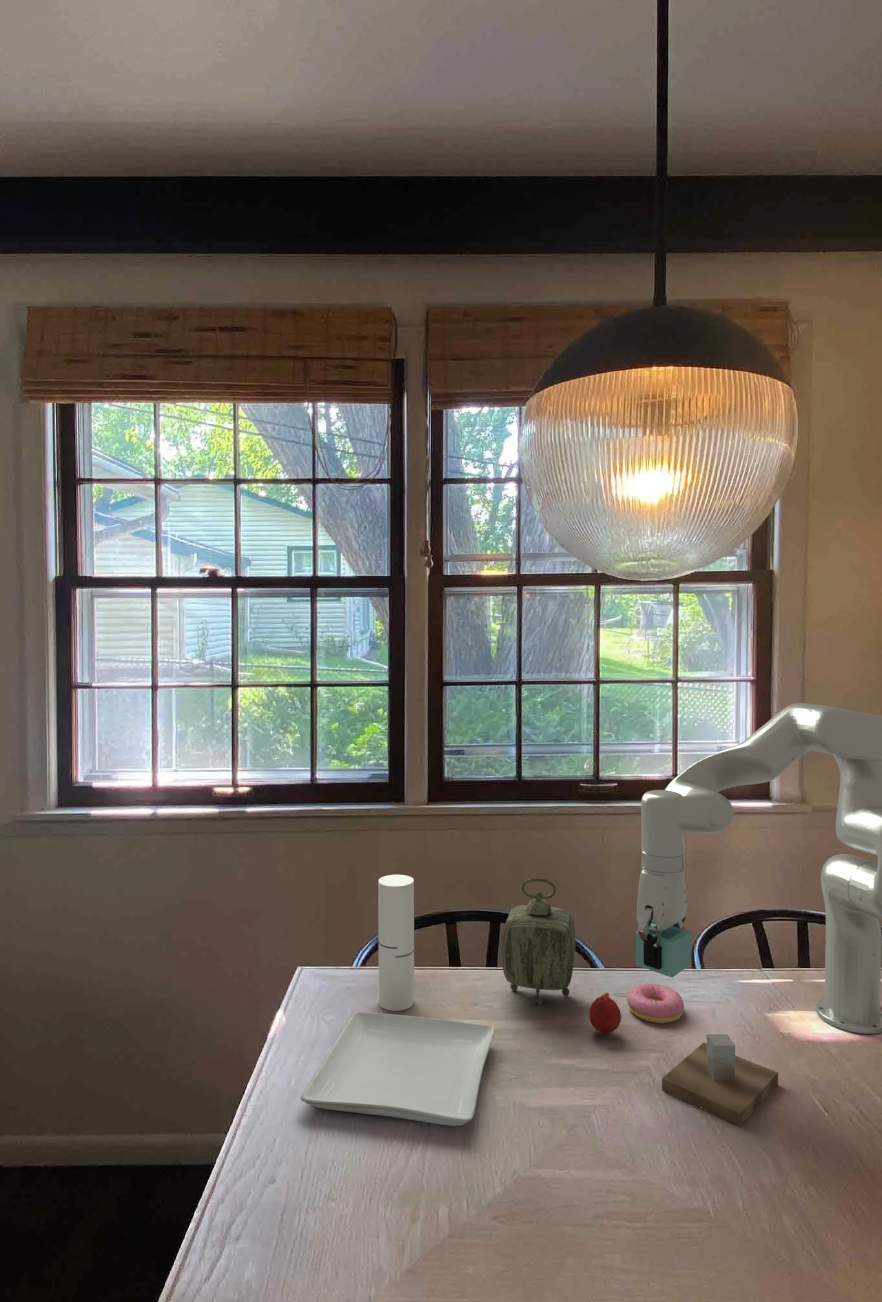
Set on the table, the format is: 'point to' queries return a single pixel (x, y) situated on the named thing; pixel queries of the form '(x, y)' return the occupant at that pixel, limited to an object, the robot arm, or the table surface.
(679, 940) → the collar
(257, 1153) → the table surface
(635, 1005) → the doughnut
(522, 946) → the tabletop clock
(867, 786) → the robot arm
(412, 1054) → the square plate
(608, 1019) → the onion
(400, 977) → the cylindrical container
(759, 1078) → the post board
